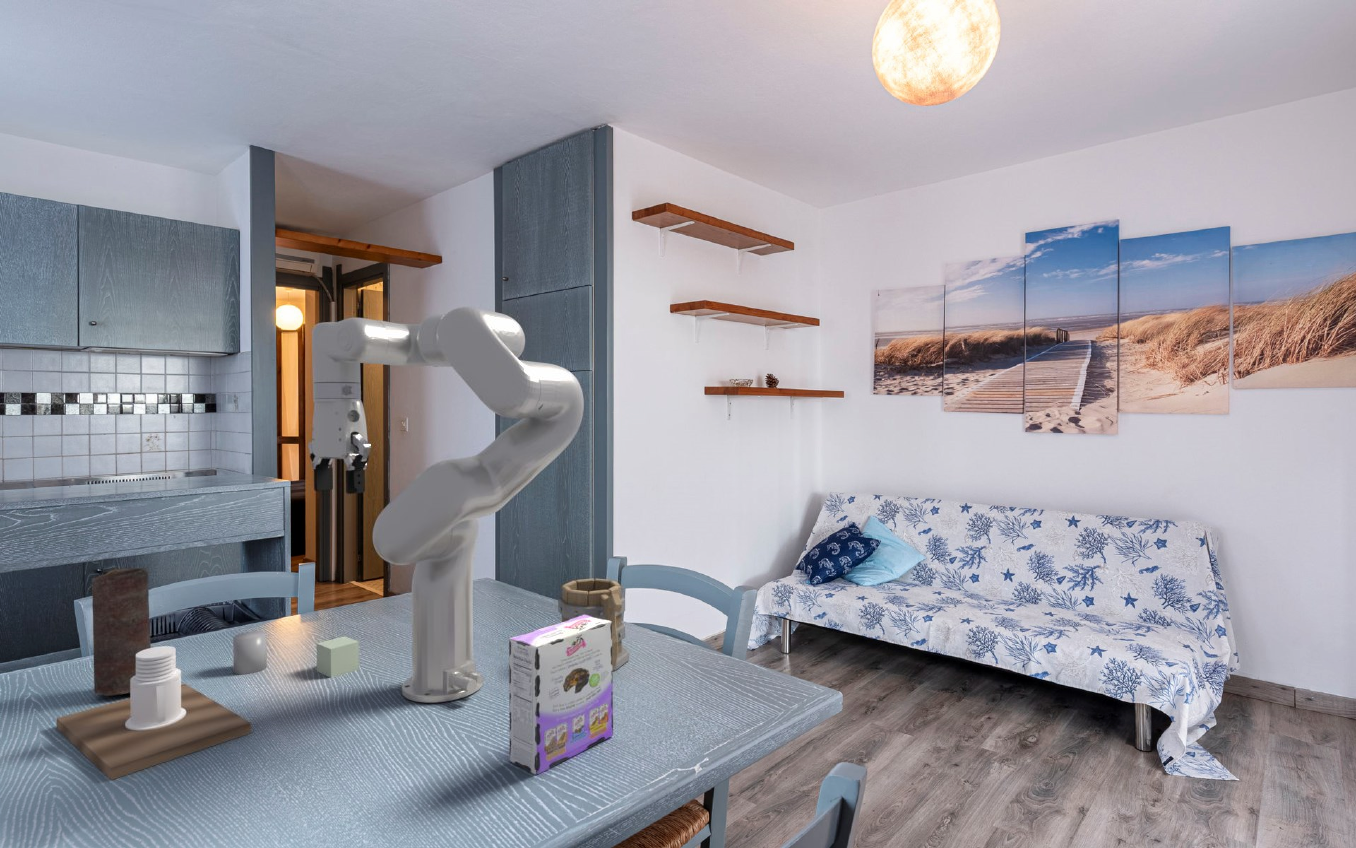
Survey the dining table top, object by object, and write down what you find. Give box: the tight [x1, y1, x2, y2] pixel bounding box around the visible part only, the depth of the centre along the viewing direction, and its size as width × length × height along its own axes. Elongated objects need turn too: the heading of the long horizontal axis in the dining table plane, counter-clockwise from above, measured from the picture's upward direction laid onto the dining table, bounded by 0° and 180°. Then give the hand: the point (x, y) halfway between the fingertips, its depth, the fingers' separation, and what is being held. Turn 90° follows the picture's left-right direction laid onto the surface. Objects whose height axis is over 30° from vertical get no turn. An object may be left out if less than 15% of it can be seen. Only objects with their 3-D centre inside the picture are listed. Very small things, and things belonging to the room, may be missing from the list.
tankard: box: [557, 577, 630, 672], centre depth 126 cm, size 20×13×15 cm, turn 23°
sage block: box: [316, 636, 360, 679], centre depth 125 cm, size 5×5×5 cm
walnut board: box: [56, 683, 252, 781], centre depth 101 cm, size 24×16×2 cm, turn 53°
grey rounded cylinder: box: [232, 630, 268, 676], centre depth 125 cm, size 5×5×6 cm
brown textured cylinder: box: [91, 567, 152, 696], centre depth 115 cm, size 8×7×20 cm
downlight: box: [125, 645, 186, 731], centre depth 101 cm, size 8×7×10 cm
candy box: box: [508, 615, 614, 776], centre depth 96 cm, size 14×6×16 cm, turn 141°
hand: (339, 491), depth 124 cm, fingers open, 9 cm apart
